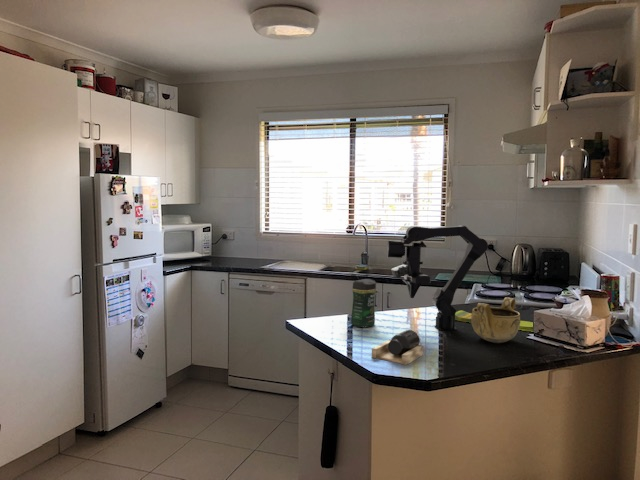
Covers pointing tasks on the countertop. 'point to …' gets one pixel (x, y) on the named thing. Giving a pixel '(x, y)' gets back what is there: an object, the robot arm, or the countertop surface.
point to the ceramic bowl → (496, 321)
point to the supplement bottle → (403, 342)
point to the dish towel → (467, 318)
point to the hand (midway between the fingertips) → (411, 297)
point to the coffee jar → (363, 303)
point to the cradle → (406, 358)
